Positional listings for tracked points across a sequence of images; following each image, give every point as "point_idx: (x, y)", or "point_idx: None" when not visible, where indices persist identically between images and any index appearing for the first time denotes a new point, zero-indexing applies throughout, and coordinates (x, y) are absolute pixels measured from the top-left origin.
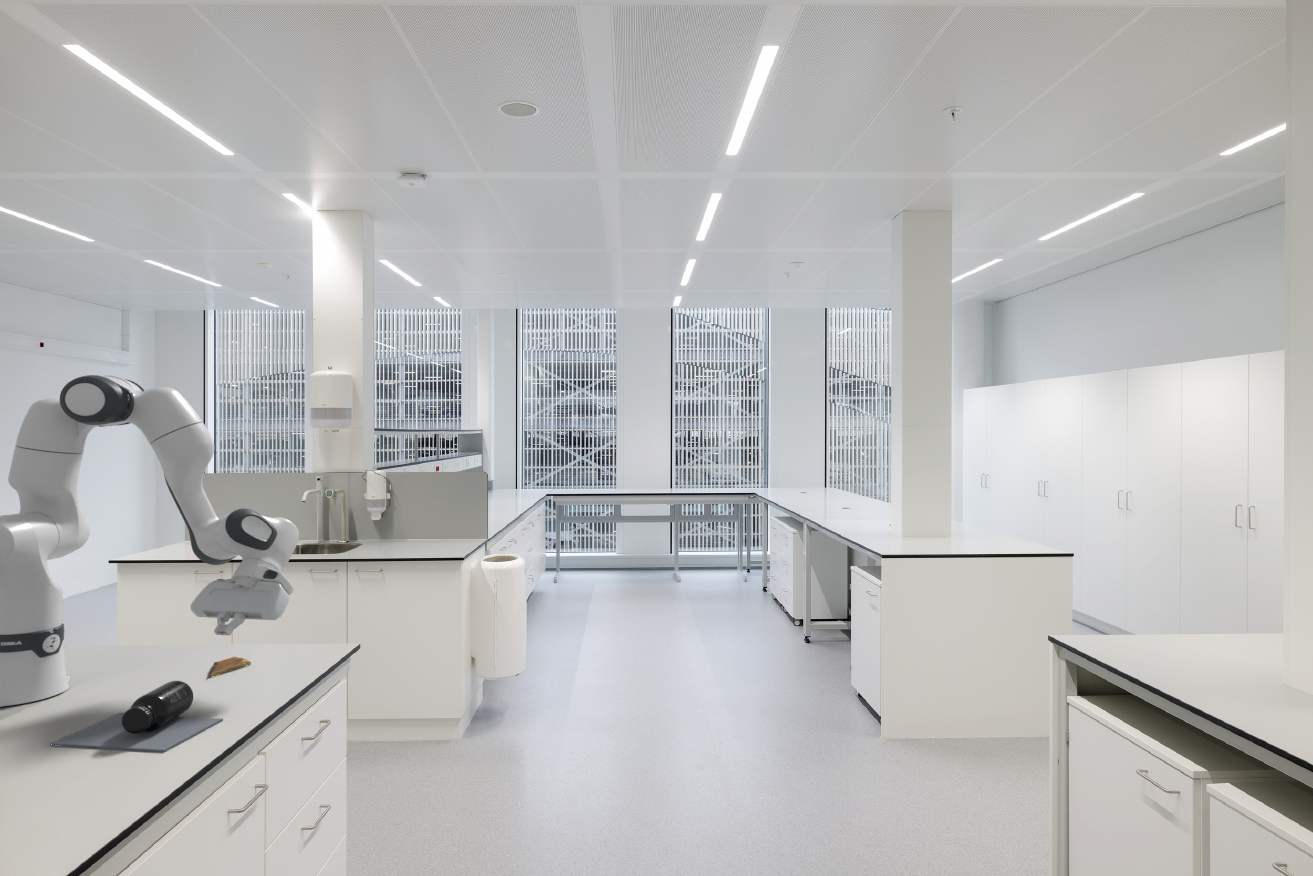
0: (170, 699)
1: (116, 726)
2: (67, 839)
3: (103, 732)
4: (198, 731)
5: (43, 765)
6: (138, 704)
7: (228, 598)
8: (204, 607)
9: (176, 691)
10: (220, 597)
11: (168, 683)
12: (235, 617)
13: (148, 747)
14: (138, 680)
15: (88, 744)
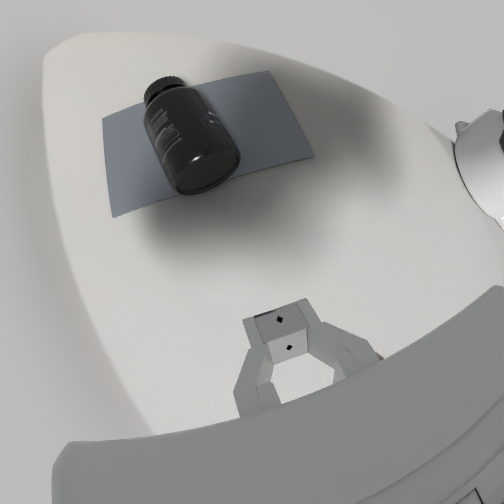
0: (149, 124)
1: (250, 122)
2: (66, 50)
3: (243, 105)
4: (106, 167)
5: (209, 54)
6: (169, 83)
7: (419, 437)
8: (467, 318)
9: (161, 137)
10: (470, 403)
11: (199, 134)
12: (254, 386)
13: (127, 110)
14: (458, 279)
15: (215, 82)
